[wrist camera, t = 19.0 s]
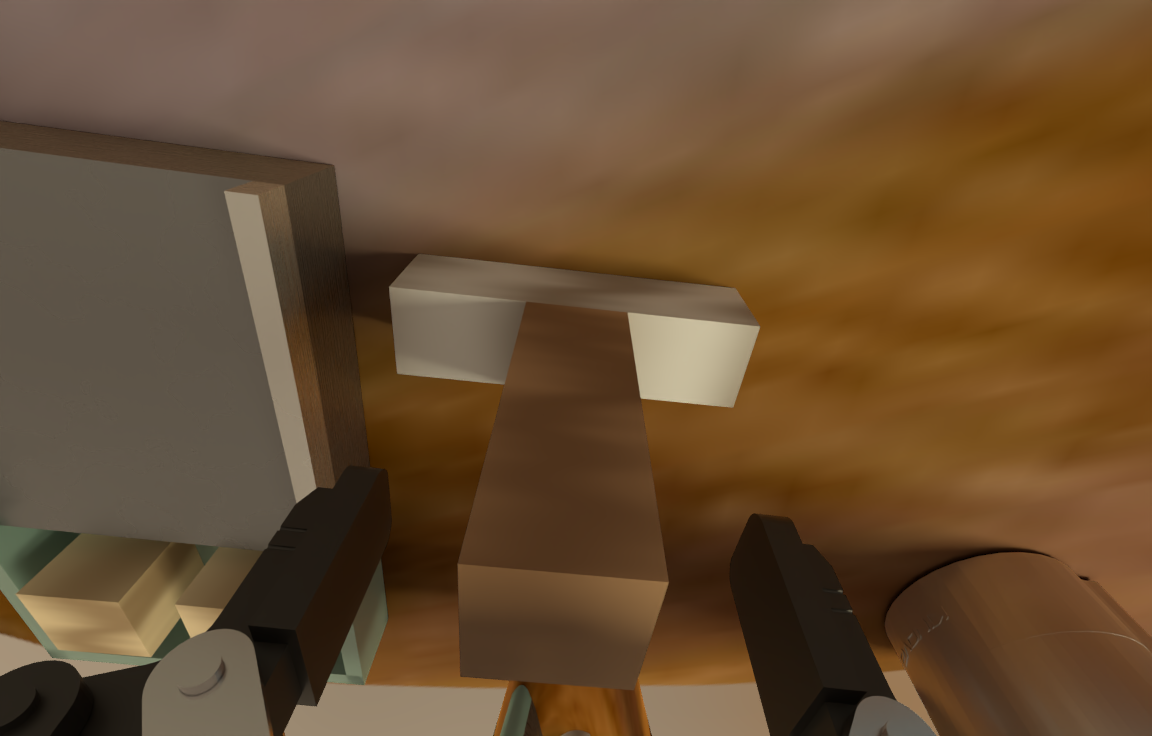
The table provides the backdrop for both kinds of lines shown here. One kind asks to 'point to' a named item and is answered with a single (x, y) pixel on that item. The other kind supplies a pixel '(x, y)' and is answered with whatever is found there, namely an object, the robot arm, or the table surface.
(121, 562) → the maple cube
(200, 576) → the maple cube
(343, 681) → the chip tray
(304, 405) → the open box
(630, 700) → the beer glass
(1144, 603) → the table surface
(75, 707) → the robot arm
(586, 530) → the rake tool
